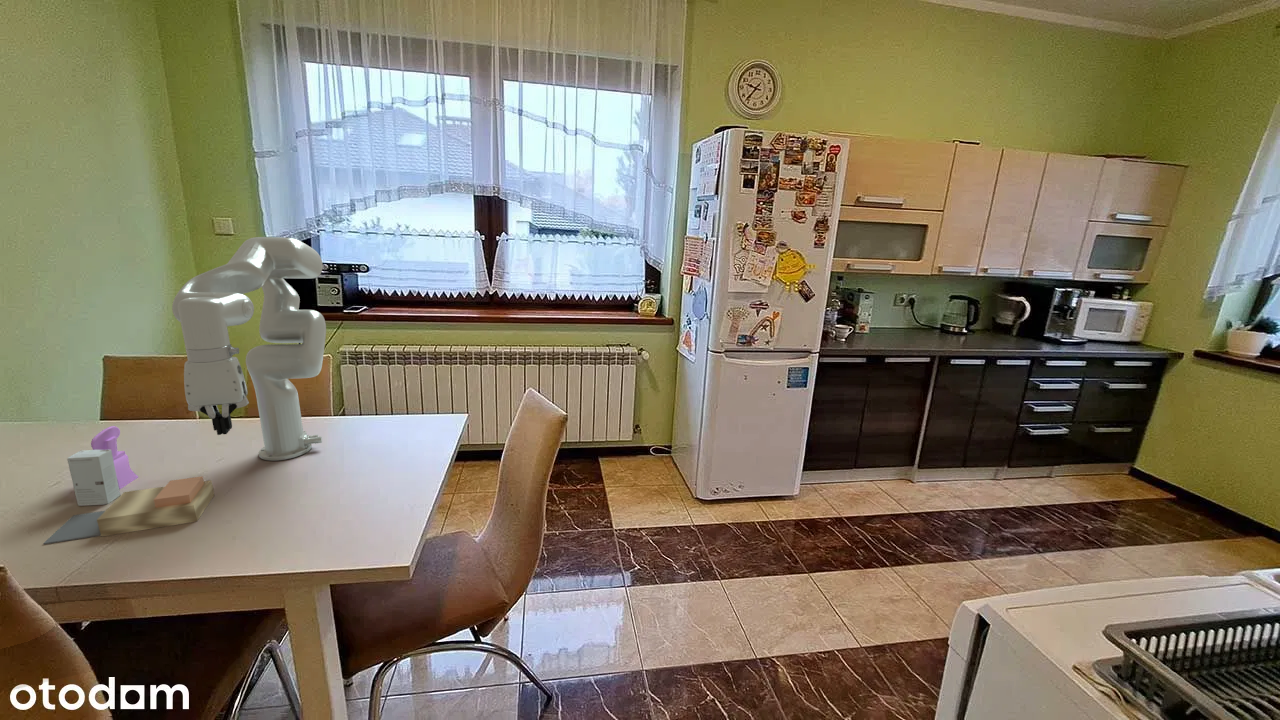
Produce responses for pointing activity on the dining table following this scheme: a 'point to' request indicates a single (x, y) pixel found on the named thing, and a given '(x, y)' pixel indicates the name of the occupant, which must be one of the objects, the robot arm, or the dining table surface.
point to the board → (151, 511)
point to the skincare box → (94, 477)
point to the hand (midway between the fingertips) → (223, 432)
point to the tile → (179, 492)
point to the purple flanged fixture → (115, 454)
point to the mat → (77, 528)
